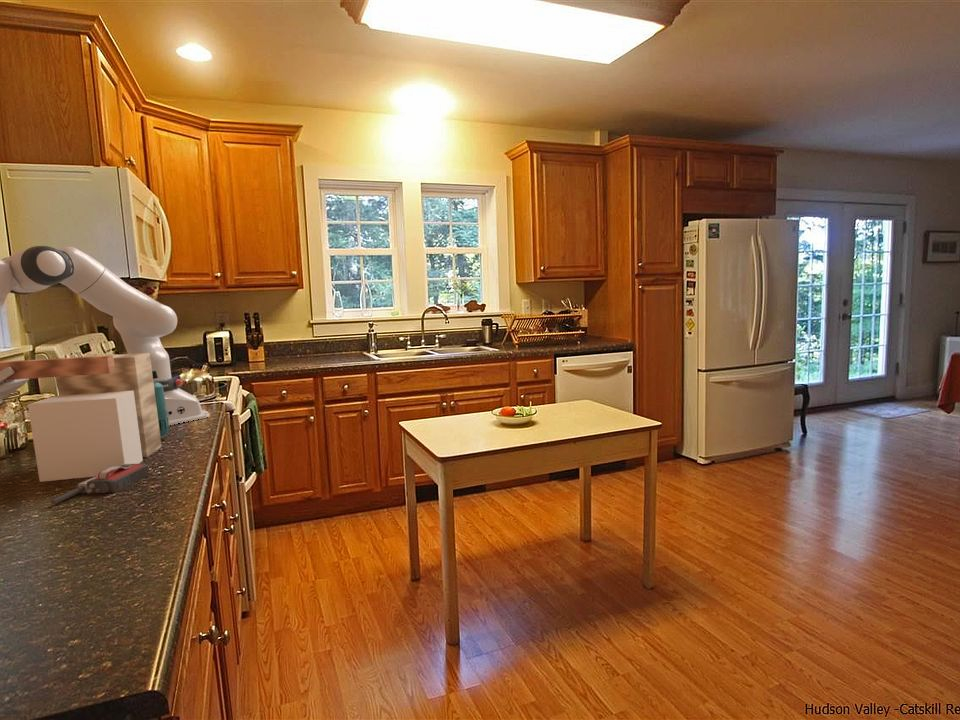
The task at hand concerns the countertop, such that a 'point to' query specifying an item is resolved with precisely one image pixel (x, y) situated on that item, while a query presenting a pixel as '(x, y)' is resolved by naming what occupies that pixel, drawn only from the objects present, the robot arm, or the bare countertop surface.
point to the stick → (60, 367)
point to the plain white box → (84, 434)
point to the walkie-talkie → (109, 480)
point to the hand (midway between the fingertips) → (19, 367)
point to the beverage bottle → (161, 406)
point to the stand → (128, 376)
